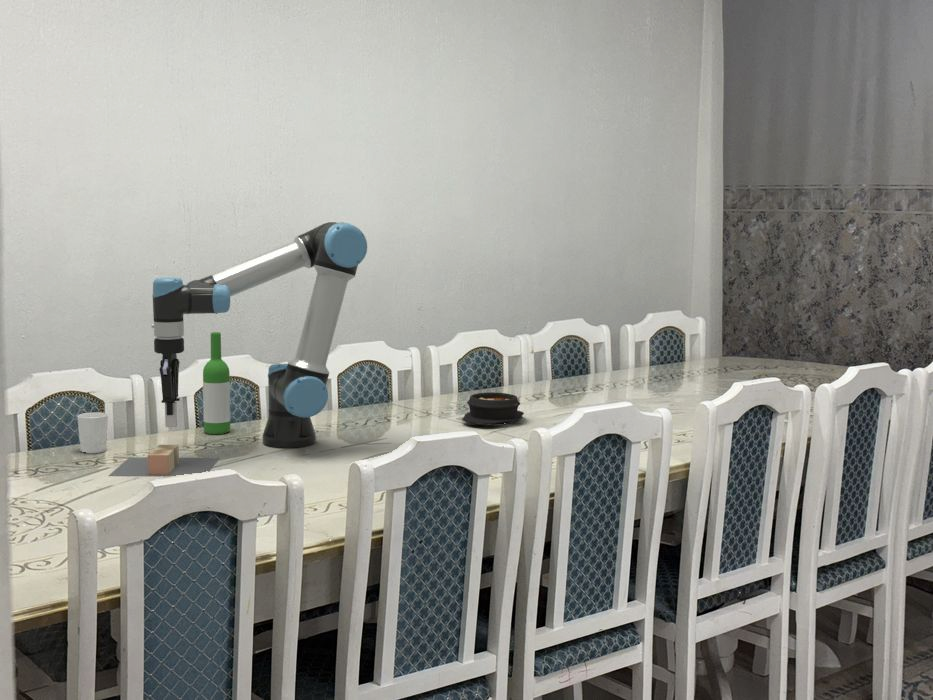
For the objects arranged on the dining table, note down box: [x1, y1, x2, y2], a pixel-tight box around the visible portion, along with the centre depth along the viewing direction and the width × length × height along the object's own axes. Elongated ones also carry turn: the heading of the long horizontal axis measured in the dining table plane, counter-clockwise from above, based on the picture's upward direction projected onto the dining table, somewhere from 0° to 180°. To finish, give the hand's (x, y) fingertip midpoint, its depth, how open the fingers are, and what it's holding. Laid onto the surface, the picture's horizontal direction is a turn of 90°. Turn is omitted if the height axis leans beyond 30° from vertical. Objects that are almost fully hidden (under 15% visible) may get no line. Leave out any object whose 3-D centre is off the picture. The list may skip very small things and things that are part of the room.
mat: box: [108, 456, 221, 478], centre depth 280 cm, size 24×20×1 cm
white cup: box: [77, 412, 109, 454], centre depth 297 cm, size 8×8×10 cm
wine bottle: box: [202, 331, 231, 435], centre depth 321 cm, size 8×8×30 cm
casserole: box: [461, 391, 525, 425], centre depth 346 cm, size 25×19×8 cm
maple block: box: [147, 444, 180, 475], centre depth 277 cm, size 5×5×12 cm
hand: (171, 426), depth 284 cm, fingers closed
